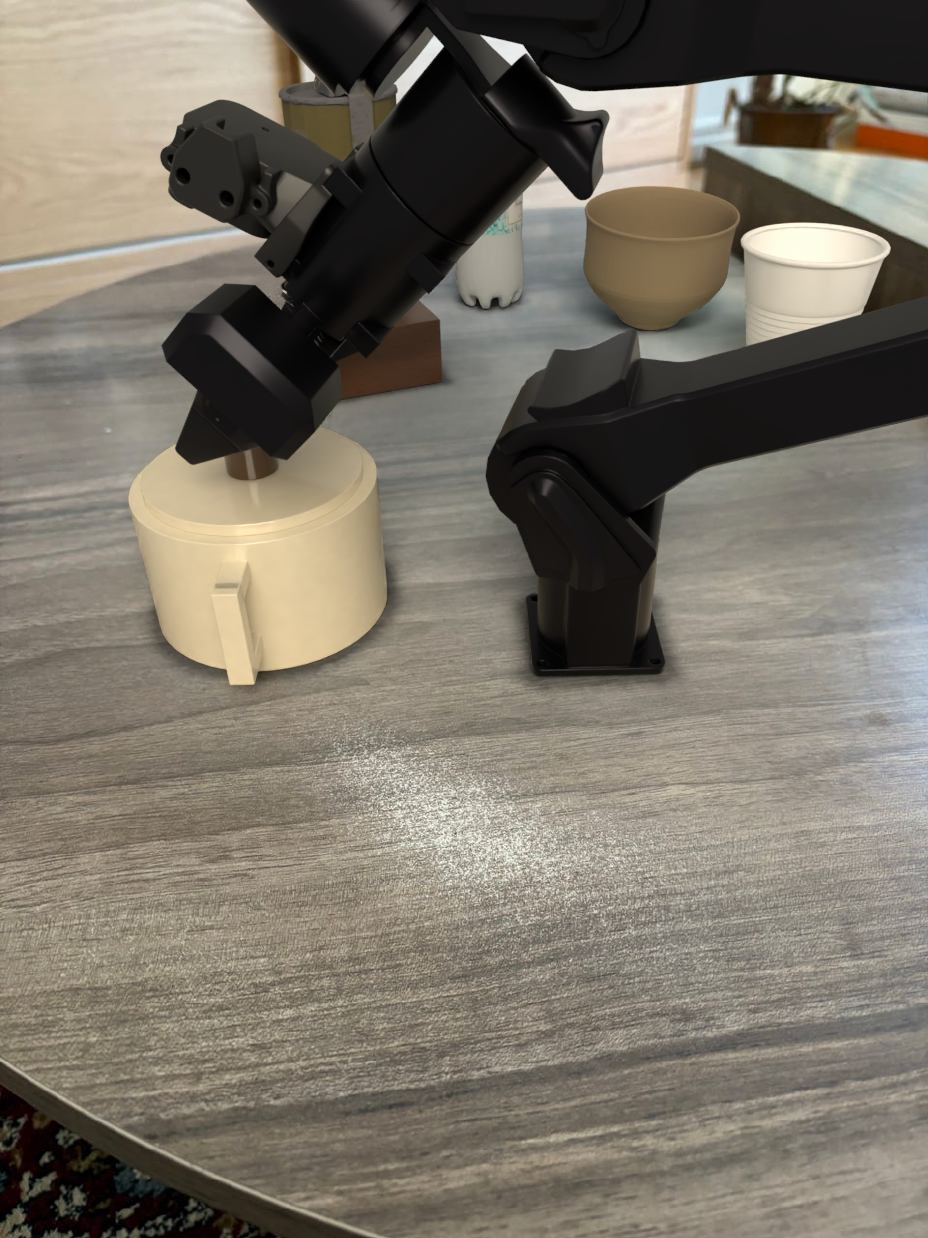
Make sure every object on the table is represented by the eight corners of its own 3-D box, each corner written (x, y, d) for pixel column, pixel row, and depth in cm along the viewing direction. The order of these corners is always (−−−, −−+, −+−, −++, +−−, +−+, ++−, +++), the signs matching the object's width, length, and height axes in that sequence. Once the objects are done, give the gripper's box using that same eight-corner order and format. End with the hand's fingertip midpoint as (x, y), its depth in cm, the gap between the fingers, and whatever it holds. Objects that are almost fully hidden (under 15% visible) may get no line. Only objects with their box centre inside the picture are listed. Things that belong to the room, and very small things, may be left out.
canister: (288, 279, 100) (259, 51, 88) (385, 264, 103) (370, 42, 91) (323, 312, 92) (296, 66, 80) (426, 294, 95) (416, 55, 83)
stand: (442, 381, 78) (440, 319, 75) (331, 401, 76) (324, 337, 73) (406, 343, 85) (402, 284, 82) (303, 360, 83) (296, 300, 80)
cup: (704, 404, 74) (723, 252, 67) (740, 358, 81) (761, 216, 74) (842, 429, 70) (877, 270, 63) (868, 378, 77) (901, 230, 70)
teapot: (376, 705, 47) (362, 574, 43) (117, 710, 48) (77, 580, 43) (397, 499, 63) (389, 389, 59) (203, 504, 63) (180, 393, 59)
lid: (406, 462, 51) (398, 337, 47) (259, 561, 44) (235, 423, 40) (250, 415, 56) (231, 299, 52) (95, 497, 49) (59, 369, 45)
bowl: (612, 359, 81) (620, 232, 75) (558, 308, 91) (562, 192, 85) (751, 340, 84) (770, 216, 78) (685, 293, 94) (697, 179, 88)
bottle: (520, 314, 90) (522, 63, 78) (447, 311, 91) (438, 63, 79) (531, 290, 95) (534, 51, 83) (462, 287, 96) (456, 51, 84)
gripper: (349, 0, 45) (174, 242, 54) (159, 59, 30) (-40, 378, 39) (519, 190, 48) (327, 389, 57) (421, 326, 34) (183, 566, 42)
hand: (218, 421), depth 49 cm, fingers open, 7 cm apart
